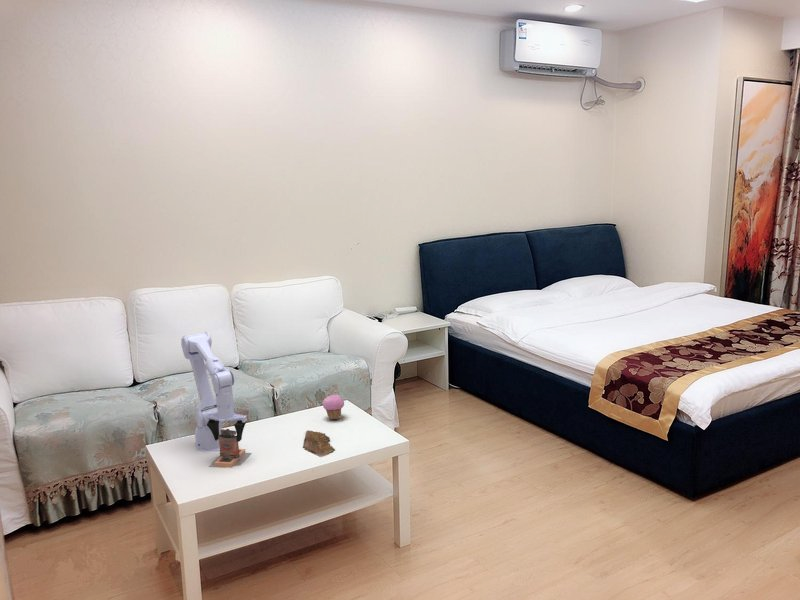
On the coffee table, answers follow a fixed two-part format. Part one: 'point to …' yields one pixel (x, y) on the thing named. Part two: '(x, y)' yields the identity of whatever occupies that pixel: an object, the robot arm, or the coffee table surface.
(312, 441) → the wooden fragment
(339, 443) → the coffee table surface
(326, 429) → the coffee table surface
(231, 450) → the lighter
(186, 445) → the coffee table surface
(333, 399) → the cupcake
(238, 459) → the holder
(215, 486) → the coffee table surface
